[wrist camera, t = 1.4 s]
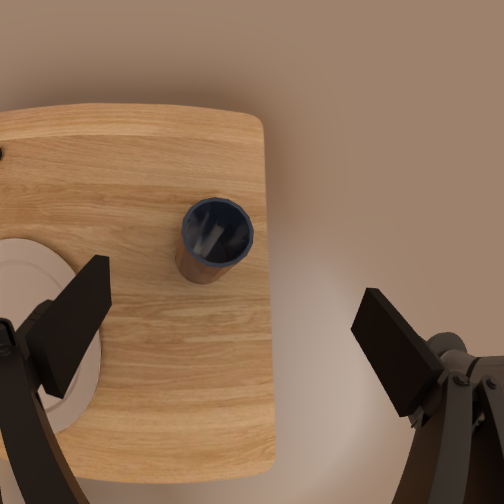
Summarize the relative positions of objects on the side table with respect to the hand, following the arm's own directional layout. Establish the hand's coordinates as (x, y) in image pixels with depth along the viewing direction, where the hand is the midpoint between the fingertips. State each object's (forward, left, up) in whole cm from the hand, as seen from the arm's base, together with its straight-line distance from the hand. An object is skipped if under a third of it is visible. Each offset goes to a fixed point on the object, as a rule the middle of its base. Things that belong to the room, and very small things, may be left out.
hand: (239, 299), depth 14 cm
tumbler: (+7, -1, -23) cm, 24 cm away
